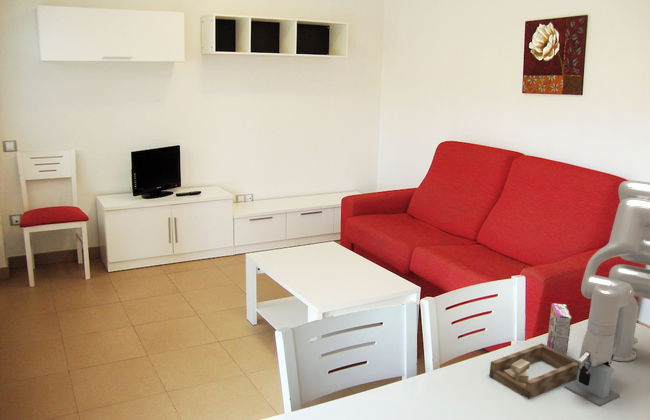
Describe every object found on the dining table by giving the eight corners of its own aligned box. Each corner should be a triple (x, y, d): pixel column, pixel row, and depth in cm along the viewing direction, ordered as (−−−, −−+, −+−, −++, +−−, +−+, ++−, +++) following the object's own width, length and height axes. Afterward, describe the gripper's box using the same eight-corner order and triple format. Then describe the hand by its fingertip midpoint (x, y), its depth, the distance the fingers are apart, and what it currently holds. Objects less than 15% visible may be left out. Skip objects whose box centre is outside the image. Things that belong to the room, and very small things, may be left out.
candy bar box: (545, 346, 216) (551, 302, 212) (560, 347, 215) (566, 304, 211) (550, 361, 205) (556, 315, 201) (566, 363, 204) (572, 317, 200)
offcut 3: (510, 375, 196) (511, 368, 196) (531, 391, 187) (532, 384, 187) (502, 377, 195) (503, 370, 195) (522, 393, 186) (523, 386, 186)
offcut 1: (529, 368, 191) (530, 362, 191) (519, 374, 187) (519, 368, 187) (520, 364, 193) (521, 358, 193) (510, 370, 189) (511, 364, 189)
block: (581, 382, 192) (585, 355, 189) (608, 395, 185) (613, 368, 182) (575, 384, 190) (579, 358, 188) (602, 398, 183) (607, 371, 181)
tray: (539, 356, 208) (541, 343, 207) (579, 377, 196) (581, 362, 195) (489, 376, 195) (490, 361, 194) (528, 399, 183) (530, 383, 181)
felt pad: (583, 378, 195) (584, 377, 195) (619, 396, 185) (619, 395, 185) (564, 387, 190) (564, 385, 189) (599, 406, 180) (599, 404, 180)
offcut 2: (522, 370, 195) (523, 363, 194) (527, 383, 187) (528, 376, 187) (512, 369, 195) (513, 362, 195) (517, 382, 188) (518, 375, 187)
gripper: (607, 316, 190) (599, 366, 194) (572, 328, 180) (564, 381, 185) (630, 325, 184) (621, 377, 188) (595, 338, 174) (587, 393, 179)
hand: (593, 379), depth 186 cm, fingers open, 9 cm apart
